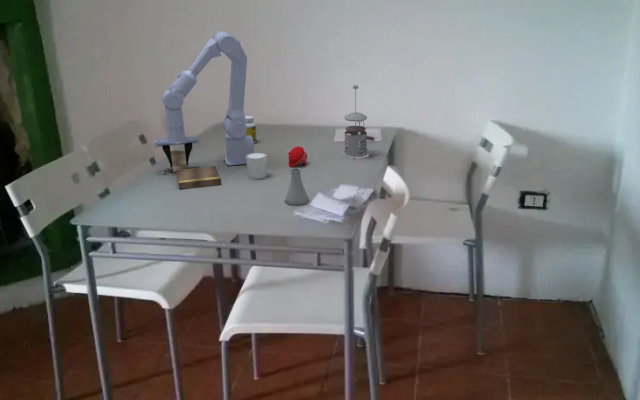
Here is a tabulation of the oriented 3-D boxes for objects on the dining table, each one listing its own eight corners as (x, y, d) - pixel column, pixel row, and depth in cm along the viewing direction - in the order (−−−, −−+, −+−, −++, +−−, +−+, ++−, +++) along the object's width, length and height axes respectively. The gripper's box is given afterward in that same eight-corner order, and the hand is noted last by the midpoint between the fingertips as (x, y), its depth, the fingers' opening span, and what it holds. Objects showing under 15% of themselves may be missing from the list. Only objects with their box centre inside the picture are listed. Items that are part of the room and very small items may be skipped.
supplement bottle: (254, 144, 252) (252, 119, 248) (240, 144, 253) (238, 118, 249) (258, 140, 256) (256, 115, 253) (244, 140, 258) (243, 115, 254)
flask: (284, 197, 200) (282, 165, 196) (308, 196, 200) (307, 164, 197) (285, 206, 193) (283, 174, 190) (310, 205, 194) (309, 172, 190)
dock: (216, 171, 223) (215, 165, 222) (221, 184, 212) (220, 178, 211) (176, 176, 220) (175, 169, 219) (179, 189, 208) (178, 182, 208)
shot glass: (271, 173, 220) (270, 153, 218) (263, 180, 214) (261, 159, 212) (252, 171, 223) (251, 151, 220) (243, 178, 217) (242, 157, 214)
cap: (294, 150, 233) (284, 145, 228) (308, 147, 229) (298, 142, 225) (294, 172, 230) (284, 167, 226) (308, 169, 227) (298, 164, 222)
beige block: (185, 166, 230) (184, 149, 227) (187, 171, 224) (185, 154, 222) (172, 167, 229) (170, 150, 226) (173, 173, 223) (171, 155, 221)
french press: (337, 157, 235) (336, 87, 225) (349, 148, 244) (348, 80, 235) (364, 160, 231) (364, 88, 222) (374, 150, 241) (375, 81, 232)
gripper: (153, 131, 215) (157, 171, 220) (198, 127, 219) (202, 166, 224) (152, 126, 222) (156, 164, 227) (196, 122, 225) (199, 160, 230)
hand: (179, 165), depth 226 cm, fingers closed on beige block, 4 cm apart
